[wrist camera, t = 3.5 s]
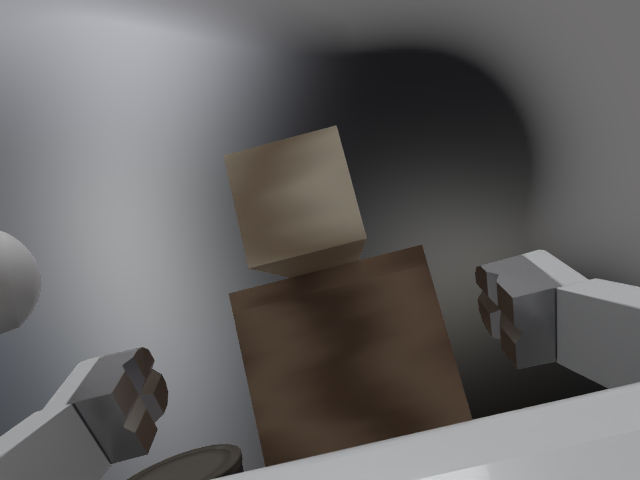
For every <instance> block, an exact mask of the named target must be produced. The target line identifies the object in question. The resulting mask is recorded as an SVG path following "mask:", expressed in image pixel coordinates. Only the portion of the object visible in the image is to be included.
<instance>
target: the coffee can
mask: <svg viewBox="0 0 640 480" xmlns="http://www.w3.org/2000/svg"><path fill="white" fill-rule="evenodd" d="M242 472H244V471H243V466H242V453H241V449H240V448H239V447H238V446H235V445H229V444H221V445H211V446H206V447H202V448H198V449H194V450H190V451H187V452H184V453H181V454H178V455H176V456H173V457H170V458H168V459H165V460H163V461H161V462H159V463H156V464H155V465H152V466H150V467H148V468H146V469H144V470H142V471H140V472H139V473H137V474H135V475H134V476H132V477H130V478H129V479H127V480H211V479H216V478H220V477H224V476H229V475H233V474H238V473H242Z"/></svg>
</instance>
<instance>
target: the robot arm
mask: <svg viewBox="0 0 640 480" xmlns="http://www.w3.org/2000/svg"><path fill="white" fill-rule="evenodd" d="M475 275H476V283H477V284H478V286H479V287H480V288H481V289H482V290H483V291H482V293H481V294H480V296H479V298H478V305H479V311H480V314H481V318H482V321H483V323H484V325H485V327H486V329H487V330H488V332H489V333H490V334H491V336H492V337H494V338H497V339H499V340H501V347H502V350H503V352H505V354H506V355H507V357H508V358H509V359H510V360H511V362H512V363H513V364H514V366H515V367H516V368H517V369H520V368H525V367H529V366H534V365H540V364H544V363H549V362H554V361H557V363H559V364H561V365H563V366H565V367H567V368H569V369H571V370H573V371H575V372H577V373H579V374H581V375H583V376H585V377H587V378H589V379H591V380H593V381H595V382H597V383H599V384H601V385H603V386H605V387H607V388H609V389H607V390H603V391H598V392H595V393H590V394H585V395H582V396H577V397H572V398H568V399H563V400H559V401H555V402H550V403H546V404H542V405H537V406H532V407H528V408H524V409H519V410H515V411H510V412H506V413H502V414H497V415H493V416H489V417H484V418H480V419H475V420H471V421H466V422H462V423H458V424H453V425H449V426H444V427H440V428H435V429H431V430H427V431H422V432H418V433H413V434H409V435H405V436H400V437H396V438H391V439H387V440H383V441H378V442H374V443H369V444H365V445H361V446H356V447H352V448H347V449H343V450H339V451H334V452H330V453H326V454H321V455H317V456H313V457H308V458H304V459H299V460H295V461H291V462H286V463H282V464H277V465H273V466H269V467H264V468H260V469H256V470H251V471H246V472H242V473H238V474H233V475H229V476H224V477H220V478H216V479H211V480H640V287H636V286H631V285H626V284H621V283H616V282H611V281H606V280H601V279H592V280H588V279H587V278H585V277H584V276H582V275H581V274H579V273H578V272H576V271H575V270H573V269H572V268H570V267H569V266H567V265H566V264H564V263H563V262H561V261H560V260H558V259H557V258H555V257H554V256H552V255H551V254H549V253H548V252H546V251H544V250H536V251H533V252H529V253H526V254H522V255H519V256H515V257H511V258H508V259H504V260H500V261H496V262H493V263H489V264H485V265H481V266H478V267H476V272H475ZM40 291H41V276H40V271H39V268H38V265H37V262H36V261H35V259H34V257H33V255H32V254H31V253H30V251H29V250H28V249H27V248H26V247H25V246H24V245H23V244H22V243H21V242H20V241H18V240H17V239H16V238H14V237H13V236H11V235H9V234H7V233H5V232H2V231H0V334H2V333H5V332H8V331H11V330H13V329H16V328H19V327H20V326H21V325H22V324H23V323H24V322H25V321H26V320H27V319H28V317H29V316H30V315H31V313H32V311H33V310H34V308H35V306H36V304H37V302H38V299H39V295H40ZM153 364H154V359H153V357H152V355H151V353H150V351H149V350H148V349H146V348H143V347H141V348H136V349H132V350H127V351H123V352H118V353H114V354H109V355H105V356H99V357H96V358H92V359H88V360H85V361H82V362H80V363H79V364H78V365H77V366H76V367H75V369H74V370H73V371H72V373H71V374H70V375H69V377H68V378H67V379H66V380H65V382H64V383H63V384H62V386H61V387H60V388H59V389H58V391H57V392H56V393H55V394H54V396H53V397H52V398H51V399H50V401H49V402H48V403H47V405H46V406H45V407H44V408H43V410H42V411H38V412H35V413H34V414H32V415H31V416H29V417H28V418H26V419H25V420H24V421H22V422H21V423H19V424H18V425H16V426H15V427H14V428H12V429H11V430H9V431H8V432H7V433H5V434H4V435H2V436H1V437H0V480H100V478H101V477H102V476H103V475H104V474H105V473H106V471H107V470H108V469H109V468H110V467H111V464H113V463H117V462H121V461H124V460H128V459H132V458H136V457H140V456H144V455H147V454H148V452H149V449H150V447H151V445H152V442H153V440H154V437H155V435H156V432H157V427H156V425H155V422H156V421H157V420H158V419H159V418H160V417H161V416H162V415H163V414H164V412H165V409H166V406H167V402H168V390H167V386H166V382H165V380H164V378H163V376H162V374H160V373H158V372H157V371H155V370H153V369H152V367H153Z"/></svg>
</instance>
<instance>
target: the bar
mask: <svg viewBox="0 0 640 480" xmlns="http://www.w3.org/2000/svg"><path fill="white" fill-rule="evenodd" d="M224 159H225V164H226V168H227V173H228V178H229V182H230V186H231V191H232V196H233V200H234V205H235V209H236V214H237V218H238V223H239V227H240V232H241V237H242V241H243V245H244V250H245V255H246V259H247V264H248V268H249V269H254V270H258V271H262V272H267V273H271V274H276V275H280V276H285V277H289V278H292V277H296V276H300V275H304V274H308V273H312V272H316V271H320V270H324V269H328V268H332V267H336V266H340V265H344V264H348V263H352V262H356V261H359V258H360V255H361V252H362V250H363V247H364V244H365V242H366V239H367V238H366V234H365V231H364V227H363V223H362V219H361V216H360V212H359V208H358V204H357V200H356V197H355V193H354V189H353V185H352V182H351V178H350V175H349V171H348V167H347V163H346V160H345V156H344V152H343V148H342V144H341V141H340V137H339V134H338V130H337V126H333V127H329V128H325V129H321V130H318V131H314V132H311V133H306V134H303V135H299V136H295V137H291V138H288V139H284V140H280V141H276V142H272V143H269V144H265V145H261V146H258V147H254V148H250V149H246V150H242V151H239V152H235V153H231V154H227V155H224Z"/></svg>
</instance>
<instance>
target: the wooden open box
mask: <svg viewBox="0 0 640 480" xmlns="http://www.w3.org/2000/svg"><path fill="white" fill-rule="evenodd" d="M229 297H230V301H231V306H232V311H233V315H234V320H235V325H236V330H237V334H238V339H239V344H240V349H241V353H242V358H243V362H244V367H245V372H246V377H247V382H248V386H249V391H250V395H251V401H252V405H253V410H254V414H255V419H256V424H257V429H258V433H259V438H260V443H261V448H262V453H263V457H264V462H265V467H269V466H273V465H277V464H282V463H286V462H291V461H295V460H299V459H304V458H308V457H313V456H317V455H321V454H326V453H330V452H334V451H339V450H343V449H347V448H352V447H356V446H361V445H365V444H369V443H374V442H378V441H383V440H387V439H391V438H396V437H400V436H405V435H409V434H413V433H418V432H422V431H427V430H431V429H435V428H440V427H444V426H449V425H453V424H458V423H462V422H466V421H471V420H472V417H471V413H470V410H469V407H468V403H467V400H466V396H465V393H464V389H463V386H462V383H461V379H460V375H459V372H458V368H457V365H456V361H455V358H454V354H453V351H452V347H451V345H450V340H449V337H448V334H447V330H446V327H445V323H444V320H443V316H442V313H441V309H440V306H439V302H438V299H437V295H436V292H435V288H434V285H433V281H432V278H431V275H430V271H429V268H428V264H427V261H426V257H425V254H424V251H423V247H422V245H419V246H415V247H411V248H407V249H403V250H399V251H395V252H392V253H387V254H383V255H380V256H376V257H372V258H368V259H364V260H360V261H356V262H352V263H348V264H344V265H340V266H336V267H332V268H328V269H324V270H320V271H316V272H312V273H308V274H304V275H300V276H296V277H292V278H288V279H285V280H281V281H277V282H273V283H269V284H265V285H261V286H257V287H253V288H249V289H245V290H241V291H238V292H233V293H230V294H229Z"/></svg>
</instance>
